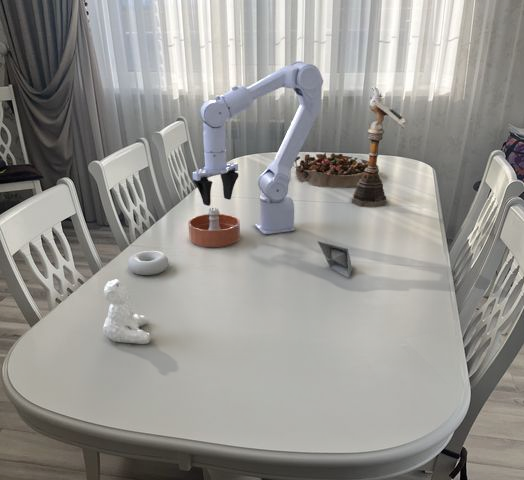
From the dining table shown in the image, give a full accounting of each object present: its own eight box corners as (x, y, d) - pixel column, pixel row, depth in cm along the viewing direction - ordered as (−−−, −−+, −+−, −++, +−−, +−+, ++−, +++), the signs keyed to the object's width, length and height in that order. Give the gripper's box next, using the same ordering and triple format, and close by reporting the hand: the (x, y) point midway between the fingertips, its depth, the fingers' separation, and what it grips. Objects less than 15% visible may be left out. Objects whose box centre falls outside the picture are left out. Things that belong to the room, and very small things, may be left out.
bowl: (231, 228, 161) (230, 211, 158) (246, 244, 150) (246, 227, 147) (184, 233, 157) (183, 216, 154) (196, 251, 146) (195, 233, 143)
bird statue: (400, 196, 187) (415, 83, 168) (402, 208, 176) (419, 88, 157) (351, 194, 189) (361, 82, 170) (350, 205, 178) (360, 87, 159)
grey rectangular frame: (368, 265, 135) (353, 268, 127) (351, 283, 138) (335, 287, 130) (337, 230, 137) (320, 232, 130) (320, 249, 141) (303, 251, 133)
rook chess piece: (207, 234, 155) (205, 206, 150) (222, 234, 155) (221, 206, 151) (207, 240, 151) (205, 212, 147) (223, 240, 151) (222, 211, 147)
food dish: (295, 164, 228) (296, 145, 224) (375, 168, 224) (378, 148, 220) (286, 185, 198) (287, 162, 194) (379, 190, 194) (382, 167, 190)
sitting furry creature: (151, 344, 106) (144, 288, 99) (105, 351, 104) (95, 294, 97) (146, 321, 113) (138, 268, 107) (103, 327, 111) (93, 273, 105)
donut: (157, 280, 131) (176, 263, 139) (155, 267, 129) (175, 251, 137) (120, 274, 133) (141, 258, 141) (118, 261, 132) (139, 246, 139)
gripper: (203, 157, 137) (206, 210, 145) (245, 148, 146) (246, 199, 153) (186, 153, 142) (189, 205, 149) (227, 144, 150) (229, 193, 158)
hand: (217, 201), depth 151 cm, fingers open, 7 cm apart
